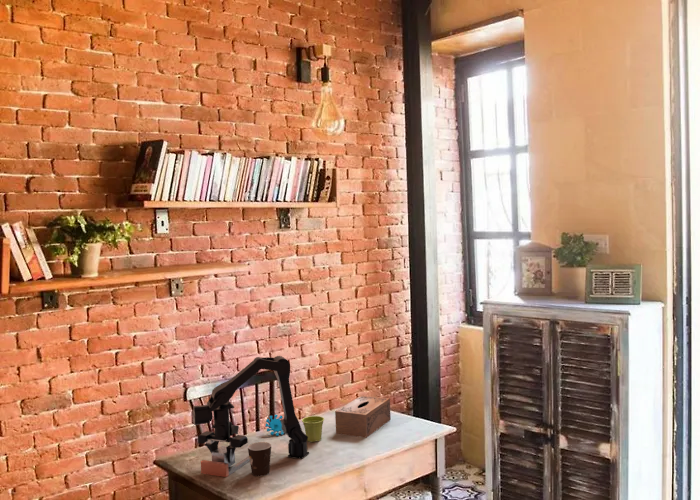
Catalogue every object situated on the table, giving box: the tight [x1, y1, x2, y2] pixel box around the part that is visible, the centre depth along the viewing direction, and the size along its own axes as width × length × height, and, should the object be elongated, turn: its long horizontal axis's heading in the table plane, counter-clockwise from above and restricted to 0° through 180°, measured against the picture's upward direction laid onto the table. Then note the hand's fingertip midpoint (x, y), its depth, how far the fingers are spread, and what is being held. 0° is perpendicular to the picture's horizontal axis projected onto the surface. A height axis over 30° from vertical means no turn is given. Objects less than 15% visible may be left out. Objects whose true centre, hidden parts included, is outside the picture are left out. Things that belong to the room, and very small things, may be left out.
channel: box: [200, 455, 250, 478], centre depth 249 cm, size 11×18×4 cm, turn 157°
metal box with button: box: [211, 445, 236, 468], centre depth 247 cm, size 6×8×6 cm
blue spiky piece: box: [264, 414, 285, 437], centre depth 286 cm, size 11×6×10 cm
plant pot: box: [301, 415, 325, 443], centre depth 275 cm, size 9×9×9 cm
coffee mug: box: [247, 441, 272, 477], centre depth 240 cm, size 12×9×10 cm
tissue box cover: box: [334, 394, 391, 439], centre depth 290 cm, size 26×14×10 cm, turn 153°
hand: (223, 461), depth 247 cm, fingers closed on metal box with button, 5 cm apart
